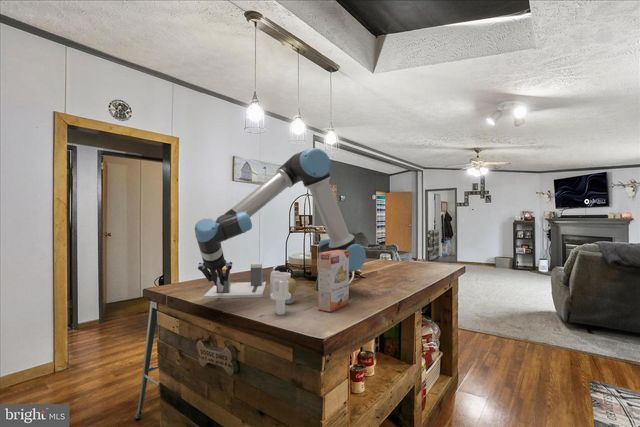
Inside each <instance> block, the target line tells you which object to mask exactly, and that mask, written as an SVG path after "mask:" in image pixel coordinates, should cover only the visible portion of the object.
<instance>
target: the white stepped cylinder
mask: <svg viewBox="0 0 640 427" xmlns="http://www.w3.org/2000/svg"><path fill="white" fill-rule="evenodd" d="M269 276H270V278H269V279H271V282H273V293H272V294H271V295H270V294H269V296H270V297H269V298H270V299H271V300H273V301H275V302H276V303H275V304H276V307H275V308H276V311H275V313H276V315H279V316H280V315H281V316H282V315H283V316H284V315H285V314H286V304H285V300H287V299H290V298H291V294H290V293H289V290H288V281H287V278H292V277H291V276H292V274H291V273H290V272H280V271H274V272H273V271H271V272H270V275H269Z"/></svg>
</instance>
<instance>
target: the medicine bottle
mask: <svg viewBox="0 0 640 427" xmlns="http://www.w3.org/2000/svg"><path fill="white" fill-rule="evenodd" d="M274 271H280V272H287V271H288V269H287V266H285V265H275V266H274V267H272V272H274ZM287 273H288V272H287ZM272 293H273V282H271V278H269V296H270V295H271V294H272Z"/></svg>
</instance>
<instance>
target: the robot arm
mask: <svg viewBox="0 0 640 427" xmlns="http://www.w3.org/2000/svg"><path fill="white" fill-rule="evenodd" d="M330 167H331V159H330V157H329V155H328V154H327V152H326V151H324V150H322V149H321V148H319V147H318V148H317V147H314V148H313V147H311V148H307V149H305V150H303V151H301V152H297V153H295V154H293V155H292V156H291V157H290V158H289V159H287V161H285V162H284V163H283V164H282V165H281V166H279V167H278V168H277V169H276V170H275V171H276V172H275V174H273V175H272V176H271V177H270V178H268V179H267V180H266V181H264V183H261V185H259V186H258V187H257V188H256V189H255V190H253V191H252V192H251V193H249V194H247V196H245V197H244V198H243V199H242V200H240V201H239V202H237V203H236V204H235V205H234V206H232V207H231V208H230V209H229V210H227V211H226V212H225V213H224V214H222V215H220V216H218V217H217V218H216V219H212V218H202V219H200V220H198V221H197V222H196V223H195V225H194V234H195V238H196V241H197V245H198V248H199V251H200V255H201V259H202V262H199V263H198V267H197V270H198V271H200V272H201V273H202V274H203V276H204V277H205V279H206V280H207V281H208V282H209V283H210V282H213V283H214V285H215V286H218V290H219V292H223V286H224V284H225V281H227V280H228V276H229V271H230V272H231V269H233V262H231V261H229V262H227V260H226V259H225V255H224V251H223V247H222V242H225V241H227V240H229V239H232V238H234V237H237V236H239V235H242V234H245V233H246V232H249V231H250V230H252V229H253V223H252V220H251V217H253V216H254V215H255V214H256V213H257V212H259V211H260V210H261V209H263V208H264V207H265V206H266V205H267V204H269V203H270V202H271V201H272V200H274V199H275V198H276V197H277V196H278V195H279V194H280V193H282V192H283V191H284V190H286V189H288V188H292V187H293V186H294V185H295V184H297V183H299V182H302V184H303V186H304V188H306V189H309V192H310V193H311V196H312V199H313V202H314V203H315V205H316V209H317V212H318V213H319V214H318V215H319V216H320V218H321V221H322V224H323V226H324V228H325V231H326V233H327V236H328V238H329V239H321V240H319V242H318V254H319V253H321V252H327V251H333V250H348V251H349V272H356V271H358V270H360V269H361V268H362V267H363V265H364V264H365V261H366V250H365V248H364V246H362V245H361V244H359V243H358V242H357V240H356V238H355V235H353V234H351V233H349V229H348V228H347V227H348V226H347V224H346V222H345V219H344V217H343V214H342V212H341V209H340V207H339V204H338V201H337V199H336V197H335V194H334V191H333V189H332V187H331V184H330V179H331V173H330ZM222 268H226V273H225V276H224V275H223V271H222ZM216 270H217V273H218V275H219V277H217V276H218V275H217V273H216ZM314 285H315V286H314V289H315V290H316V291H318V276H317V278H316V281H315V284H314Z"/></svg>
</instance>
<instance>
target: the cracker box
mask: <svg viewBox="0 0 640 427" xmlns="http://www.w3.org/2000/svg"><path fill="white" fill-rule="evenodd" d="M317 261H318V265H317V266H318V272H317V274H318V275H317V277H318V290H317V293H318V294H317V297H318V298H317V310H318V311H323V312H327V313H333V312H334V311H336V310H338V309H340V308H342V307H345V306H347V305H349V303H350V302H349V300H350V298H349V295H350V294H349V290H350V288H349V286H350V284H349V283H350V281H349V278H350V271H349V251H348V250H333V251H327V252H321V253H319V252H318V260H317Z"/></svg>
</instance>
